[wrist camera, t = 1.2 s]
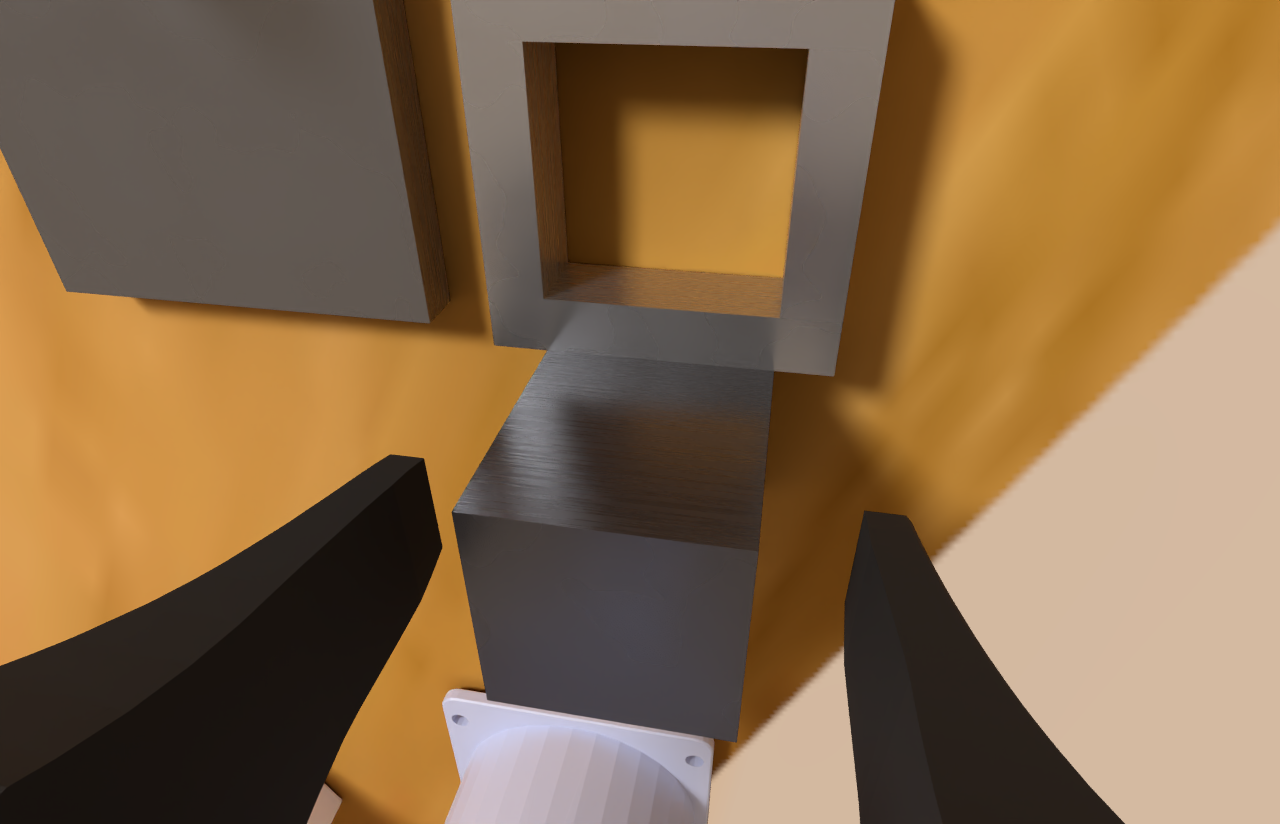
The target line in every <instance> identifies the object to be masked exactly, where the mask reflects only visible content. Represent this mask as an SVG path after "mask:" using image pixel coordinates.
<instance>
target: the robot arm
mask: <svg viewBox="0 0 1280 824" xmlns="http://www.w3.org/2000/svg"><path fill="white" fill-rule="evenodd" d="M441 550H442V542H441V538H440V533H439V528H438V523H437V519H436V514H435V509H434V504H433V499H432V495H431V490H430V485H429V480H428V476H427V471H426V466H425V461H424V458H416V457H408V456H400V455H391V454H390V455H389V456H387V457H385V458H384V459H382V460H381V461H379V462H377V463H376V464H374V465H373V466H371V467H370V468H368V469H367V470H365V471H364V472H362V473H361V474H359V475H358V476H356V477H355V478H353V479H352V480H351V481H349V482H348V483H346V484H345V485H343V486H342V487H340V488H339V489H337V490H336V491H335V492H333V493H332V494H330V495H329V496H327V497H326V498H324V499H323V500H321V501H320V502H318V503H317V504H315V505H314V506H312V507H311V508H309V509H308V510H306V511H305V512H303V513H302V514H300V515H299V516H297V517H296V518H294V519H293V520H291V521H290V522H289V523H287V524H286V525H284V526H282V527H281V528H279V529H278V530H276V531H274V532H273V533H271V534H270V535H268V536H266V537H265V538H263V539H262V540H260V541H258V542H257V543H255V544H253V545H252V546H250V547H249V548H247V549H245V550H244V551H242V552H240V553H239V554H237V555H236V556H234V557H232V558H231V559H229V560H228V561H226V562H224V563H223V564H221V565H219V566H217V567H216V568H214V569H212V570H210V571H209V572H207V573H205V574H203V575H201V576H199V577H198V578H196V579H194V580H192V581H190V582H188V583H187V584H185V585H183V586H181V587H179V588H177V589H175V590H173V591H171V592H169V593H167V594H165V595H163V596H162V597H160V598H158V599H156V600H154V601H152V602H150V603H148V604H146V605H144V606H141V607H139V608H137V609H135V610H133V611H130V612H128V613H126V614H124V615H122V616H119V617H117V618H115V619H113V620H111V621H108V622H106V623H104V624H102V625H100V626H97V627H95V628H93V629H91V630H89V631H86V632H84V633H82V634H80V635H77V636H75V637H73V638H70V639H68V640H66V641H63V642H61V643H58V644H56V645H53V646H51V647H48V648H46V649H43V650H41V651H38V652H36V653H33V654H31V655H28V656H25V657H23V658H20V659H17V660H15V661H12V662H9V663H7V664H4V665H1V666H0V824H307V822H308V820H309V818H310V815H311V813H312V810H313V808H314V806H315V803H316V801H317V798H318V796H319V794H320V791H321V789H322V787H323V785H324V782H325V780H326V778H327V776H328V773H329V771H330V769H331V767H332V764H333V762H334V760H335V758H336V755H337V753H338V751H339V749H340V746H341V744H342V742H343V740H344V738H345V736H346V734H347V732H348V730H349V728H350V726H351V724H352V723H353V721H354V719H355V717H356V715H357V713H358V711H359V709H360V708H361V706H362V704H363V702H364V701H365V699H366V697H367V695H368V694H369V692H370V690H371V688H372V687H373V685H374V683H375V681H376V680H377V678H378V676H379V674H380V673H381V671H382V669H383V667H384V666H385V664H386V662H387V661H388V659H389V657H390V655H391V654H392V652H393V650H394V648H395V647H396V645H397V643H398V641H399V640H400V638H401V636H402V634H403V632H404V631H405V629H406V627H407V625H408V623H409V622H410V620H411V618H412V616H413V614H414V613H415V611H416V609H417V607H418V605H419V603H420V602H421V600H422V597H423V595H424V593H425V590H426V588H427V585H428V583H429V581H430V578H431V576H432V573H433V571H434V568H435V565H436V563H437V560H438V558H439V555H440V552H441ZM844 667H845V677H846V687H847V697H848V706H849V716H850V725H851V735H852V744H853V753H854V761H855V772H856V780H857V790H858V800H859V812H860V824H1125V823H1124V822H1123V821H1122V820H1121V819H1120V818H1119V817H1118V816H1117V815H1116V814H1115V813H1114V812H1113V811H1112V810H1111V809H1110V807H1109V806H1108V805H1107V804H1106V803H1105V802H1104V801H1103V800H1102V799H1101V798H1100V797H1099V796H1098V795H1097V794H1096V793H1095V792H1094V791H1093V789H1092V788H1091V787H1090V786H1089V785H1088V784H1087V783H1086V781H1085V780H1084V779H1083V778H1082V777H1081V776H1080V774H1079V773H1078V772H1077V771H1076V770H1075V769H1074V767H1073V766H1072V765H1071V764H1070V763H1069V762H1068V761H1067V759H1066V758H1065V757H1064V756H1063V755H1062V754H1061V752H1060V751H1059V750H1058V749H1057V748H1056V746H1055V745H1054V744H1053V743H1052V741H1051V740H1050V739H1049V738H1048V736H1047V735H1046V734H1045V733H1044V731H1043V730H1042V729H1041V728H1040V726H1039V725H1038V724H1037V723H1036V722H1035V720H1034V719H1033V718H1032V716H1031V715H1030V714H1029V713H1028V711H1027V710H1026V709H1025V707H1024V706H1023V705H1022V703H1021V702H1020V701H1019V699H1018V698H1017V696H1016V695H1015V694H1014V692H1013V691H1012V690H1011V689H1010V687H1009V686H1008V684H1007V683H1006V681H1005V680H1004V679H1003V677H1002V676H1001V674H1000V673H999V671H998V670H997V669H996V667H995V665H994V664H993V663H992V661H991V660H990V658H989V657H988V655H987V654H986V652H985V651H984V649H983V648H982V646H981V645H980V643H979V642H978V640H977V639H976V637H975V636H974V634H973V632H972V631H971V629H970V628H969V626H968V624H967V623H966V621H965V619H964V618H963V616H962V615H961V613H960V611H959V610H958V608H957V606H956V605H955V603H954V602H953V600H952V598H951V596H950V595H949V593H948V591H947V589H946V588H945V586H944V584H943V582H942V581H941V579H940V577H939V575H938V573H937V572H936V570H935V568H934V566H933V564H932V562H931V560H930V559H929V557H928V555H927V553H926V551H925V549H924V547H923V545H922V543H921V541H920V539H919V537H918V535H917V533H916V531H915V529H914V526H913V524H912V522H911V521H910V520H909V519H908V518H907V516H904V515H896V514H887V513H879V512H871V511H864V515H863V520H862V525H861V529H860V534H859V539H858V543H857V548H856V553H855V557H854V562H853V567H852V571H851V576H850V581H849V585H848V590H847V595H846V599H845V621H844ZM442 706H443V710H444V714H445V718H446V722H447V727H448V731H449V735H450V739H451V743H452V747H453V751H454V755H455V759H456V764H457V768H458V772H459V776H460V780H461V784H460V786H459V789H458V791H457V794H456V796H455V799H454V801H453V804H452V806H451V809H450V811H449V814H448V816H447V819H446V821H445V824H708V812H709V800H710V788H711V777H712V766H713V754H714V739H713V738H708V737H702V736H696V735H690V734H684V733H678V732H672V731H666V730H660V729H654V728H649V727H643V726H637V725H631V724H625V723H619V722H613V721H607V720H601V719H595V718H589V717H584V716H578V715H572V714H566V713H560V712H554V711H548V710H542V709H536V708H530V707H524V706H519V705H513V704H507V703H501V702H495V701H489V700H487V697H486V693H483V692H477V691H471V690H465V689H453V690H449V691H448V692H447V694H446V696H445V698H444V700H443V705H442Z"/></svg>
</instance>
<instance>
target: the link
mask: <svg viewBox="0 0 1280 824" xmlns="http://www.w3.org/2000/svg"><path fill="white" fill-rule="evenodd" d="M894 3H895V0H451V8H452V15H453V23H454V31H455V39H456V47H457V55H458V63H459V71H460V79H461V86H462V94H463V102H464V110H465V118H466V126H467V134H468V142H469V150H470V157H471V165H472V173H473V181H474V189H475V197H476V205H477V213H478V221H479V229H480V236H481V244H482V252H483V260H484V268H485V276H486V284H487V292H488V300H489V307H490V315H491V323H492V331H493V339H494V345H496V346H507V347H518V348H529V349H540V350H547V352H546V354H545V355H544V357H543V359H542V361H541V362H540V364H539V366H538V367H537V369H536V371H535V372H534V374H533V376H532V377H531V379H530V381H529V382H528V384H527V386H526V388H525V389H524V391H523V393H522V394H521V396H520V398H519V399H518V401H517V403H516V404H515V406H514V408H513V409H512V411H511V413H510V415H509V416H508V418H507V420H506V421H505V423H504V425H503V426H502V428H501V430H500V431H499V433H498V435H497V436H496V438H495V440H494V441H493V443H492V445H491V447H490V448H489V450H488V452H487V453H486V455H485V457H484V458H483V460H482V462H481V463H480V465H479V467H478V468H477V470H476V472H475V474H474V475H473V477H472V479H471V480H470V482H469V484H468V485H467V487H466V489H465V490H464V492H463V494H462V495H461V497H460V499H459V501H458V502H457V504H456V506H455V507H454V509H453V511H452V516H453V522H454V527H455V532H456V538H457V543H458V548H459V553H460V559H461V564H462V569H463V575H464V580H465V585H466V591H467V596H468V601H469V606H470V612H471V617H472V622H473V628H474V633H475V638H476V644H477V649H478V654H479V659H480V665H481V670H482V675H483V681H484V686H485V691H486V697H487V700H489V701H495V702H501V703H507V704H513V705H519V706H524V707H530V708H536V709H542V710H548V711H554V712H560V713H566V714H572V715H578V716H584V717H589V718H595V719H601V720H607V721H613V722H619V723H625V724H631V725H637V726H643V727H649V728H654V729H660V730H666V731H672V732H678V733H684V734H690V735H696V736H702V737H708V738H713V739H719V740H725V741H731V742H737V735H738V727H739V718H740V709H741V700H742V691H743V683H744V674H745V665H746V656H747V648H748V639H749V630H750V621H751V613H752V604H753V595H754V586H755V577H756V569H757V560H758V551H759V539H760V528H761V516H762V505H763V493H764V481H765V470H766V458H767V446H768V435H769V423H770V412H771V400H772V388H773V377H774V371H780V372H791V373H802V374H813V375H824V376H834V374H835V368H836V361H837V355H838V349H839V343H840V337H841V331H842V324H843V318H844V312H845V306H846V300H847V294H848V287H849V281H850V275H851V269H852V263H853V256H854V250H855V244H856V238H857V232H858V226H859V219H860V213H861V207H862V201H863V195H864V189H865V182H866V176H867V170H868V164H869V158H870V151H871V145H872V139H873V133H874V127H875V121H876V114H877V108H878V102H879V96H880V90H881V84H882V77H883V71H884V65H885V59H886V53H887V46H888V40H889V34H890V28H891V22H892V16H893V9H894ZM555 42H562V43H601V44H641V45H680V46H720V47H760V48H799V49H808V54H807V63H806V73H805V82H804V91H803V100H802V109H801V118H800V128H799V137H798V146H797V155H796V164H795V174H794V183H793V192H792V201H791V210H790V220H789V229H788V238H787V247H786V256H785V265H784V275H783V278H772V277H758V276H744V275H731V274H717V273H703V272H689V271H675V270H662V269H648V268H634V267H620V266H607V265H593V264H579V263H568V252H567V236H566V219H565V203H564V186H563V170H562V153H561V137H560V121H559V104H558V88H557V71H556V55H555Z"/></svg>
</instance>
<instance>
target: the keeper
mask: <svg viewBox="0 0 1280 824" xmlns="http://www.w3.org/2000/svg"><path fill="white" fill-rule="evenodd" d="M0 149H1V151H2V153H3V155H4V157H5V160H6V162H7V164H8V166H9V168H10V170H11V172H12V175H13V177H14V179H15V181H16V183H17V185H18V188H19V190H20V192H21V194H22V196H23V198H24V201H25V203H26V205H27V207H28V209H29V211H30V213H31V216H32V218H33V220H34V222H35V224H36V226H37V229H38V231H39V233H40V235H41V237H42V239H43V242H44V244H45V246H46V248H47V250H48V252H49V255H50V257H51V259H52V261H53V263H54V265H55V267H56V270H57V272H58V274H59V276H60V278H61V280H62V283H63V285H64V287H65V289H66V291H67V292H79V293H90V294H102V295H113V296H124V297H136V298H147V299H158V300H170V301H181V302H192V303H204V304H215V305H226V306H238V307H249V308H260V309H272V310H283V311H294V312H306V313H317V314H328V315H340V316H351V317H363V318H374V319H385V320H397V321H408V322H419V323H431V322H432V321H433V320H434V318H435V317H436V316H437V315H438V314H439V313H440V312H441V311H442V310H443V309H444V307H445V306H446V305H447V304H448V303H449V302H450V295H449V288H448V282H447V276H446V269H445V263H444V256H443V250H442V244H441V237H440V231H439V225H438V218H437V212H436V206H435V199H434V193H433V187H432V180H431V174H430V167H429V161H428V155H427V148H426V142H425V136H424V129H423V123H422V117H421V110H420V104H419V98H418V91H417V85H416V78H415V72H414V66H413V59H412V53H411V47H410V40H409V34H408V28H407V21H406V15H405V9H404V2H403V0H0Z"/></svg>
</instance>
